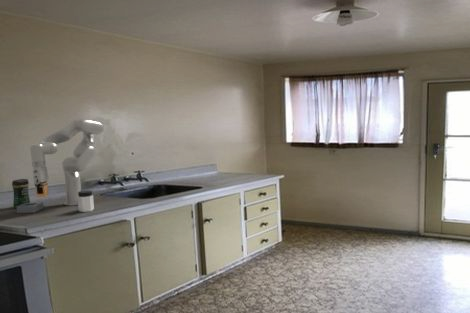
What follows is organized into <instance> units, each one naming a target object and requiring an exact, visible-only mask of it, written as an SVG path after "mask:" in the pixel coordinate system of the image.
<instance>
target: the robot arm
mask: <svg viewBox="0 0 470 313" xmlns="http://www.w3.org/2000/svg"><path fill="white" fill-rule="evenodd" d="M104 131H105V127H104V124H103V123H101V122H100V121H95V120H89V119H86V118H85V119H84V118H81V119H80V118H79V119H77V118H76V119H72V120H71V121H70V122H69V123H67V124H66V125H65V126H63V127H62V128H61V129H59V130H58V131H55V132H54V133H51V134H49V135H48V136H46V137H45V138H43V139H42V140H40V141H39V142H38V143H33V144H31V145H30V146H29V150H30V158H31V159H30V160H31V167H32V178H33V184H34V186H35V185H36V188H37V194H43V189H42V183H48V181H49V173H48V169H47V165H46V164H47V163H46V155H54V154H56V153H57V152H58V150H59V146H58V145H59V144H62V143H65V142H68V141H70V140H71V139H73V138H74V137H75V136H76V135H77V134H79V133H82V135H83V136H82V139H80V142H79V143H78V144H77V145H76V147H75V148H74V150H73V153H72V155H73V156H68V157H66V158H64V159H63V161H62V163H61V166H62V171H63V173H64V174H63V175H64V183H65V184H64V185H65V186H64V187H65V195H66V196H65V199H66V200H65V201H64V203H63V204H64V206H78V192H80V191H82V186H81V175H80V173H82V172H85V171H86V170H87V169H88V167H89V166H90V164H92V162H93V161H94V159H95V157H96V156H97V151H96V149H95V147H94V145H95V135H101V134H102V133H103V132H104ZM39 183H40V185H39Z"/></svg>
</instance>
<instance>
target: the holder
mask: <svg viewBox="0 0 470 313" xmlns="http://www.w3.org/2000/svg"><path fill="white" fill-rule="evenodd" d="M15 209H16V214H27V213H36V212H39V211H40V210H42V209H44V202H43V201H40V202H39V201H38V202H35V201H33V202H31V201H30V202H29V203H24V204H21V205H19V206H17V207H16V208H15Z"/></svg>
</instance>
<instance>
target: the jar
mask: <svg viewBox="0 0 470 313" xmlns="http://www.w3.org/2000/svg"><path fill="white" fill-rule="evenodd" d="M94 203H95V202H94V195H93V190H90V189H88V190H81V191H80V192H78V205H77V206H78V211H79V212H80V213H88V212H92V211H93V210H95V206H94Z"/></svg>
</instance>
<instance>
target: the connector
mask: <svg viewBox="0 0 470 313" xmlns="http://www.w3.org/2000/svg"><path fill="white" fill-rule="evenodd" d="M48 184H49V183H48V182H46V183H42V189H43V194H37V188H36V185H35V184H34V187H35V188H34V189H35V196H36V198H43V197H48V196H49V186H48ZM39 185H40V183H39Z"/></svg>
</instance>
